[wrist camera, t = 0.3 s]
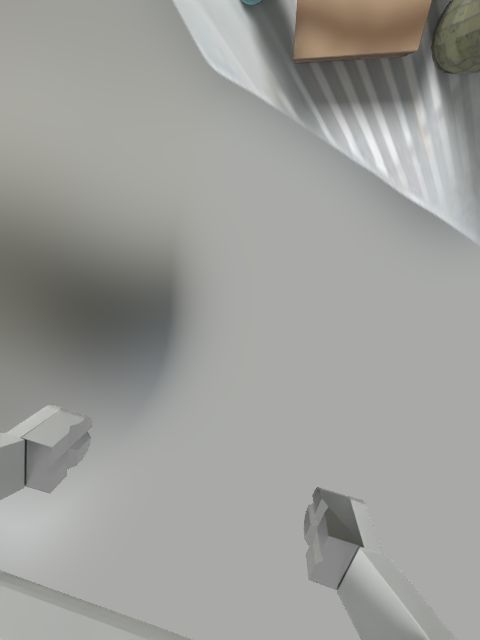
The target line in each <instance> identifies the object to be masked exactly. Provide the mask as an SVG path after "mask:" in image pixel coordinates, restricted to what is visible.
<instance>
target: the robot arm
mask: <svg viewBox="0 0 480 640" xmlns="http://www.w3.org/2000/svg"><path fill="white" fill-rule="evenodd" d="M91 427H92V419H91V418H90V417H88V416H85V415H82V414H79V413H76V412H73V411H70V410H67V409H63V408H60V407H57V406H54V405H49V406H46V407H44V408H43V409H41V410H40V411H38V412H37V413H35V414H34V415H32V416H31V417H29V418H28V419H26V420H25V421H24V422H22V423H21V424H19V425H17V426H16V427H14V428H13V429H11V430H10V431H8V432H7V433H2V432H0V500H1V499H3V498H5V497H7V496H9V495H11V494H13V493H15V492H17V491H19V490H21V489H22V488H24V486H27V487H30V488H34V489H37V490H40V491H43V492H47V493H51V492H52V491H53V490H54V489H55V488H56V486H57V485H58V484H59V483H60V482H61V481H62V480H63V479H64V478H65V477H66V475H67V469H69V468H71V467H74V466H76V465H77V464H78V463H79V462H80V461H81V460H82V459H83V457H84V455H85V454H86V452H87V450H88V447H89V445H90V439H91V437H90V435H89V433H88V430H89V429H90V428H91ZM313 502H314V503H312V504H311V505H309V506H308V508H307V511H306V514H305V520H304V537H305V540H306V542H307V544H308V545H309V549H308V551H307V553H306V557H307V567H308V578H309V580H311V581H314V582H316V583H319V584H322V585H325V586H327V587H330V588H333V589H335V590H338V591H337V593H338V595H339V597H340V599H341V601H342V603H343V605H344V607H345V609H346V611H347V613H348V615H349V617H350V619H351V621H352V622H353V624H354V626H355V628H356V630H357V632H358V634H359V636H360V638H361V640H457V639H456V637H455V636H454V635H453V634H452V632H451V631H450V630H449V629H448V628H447V626H446V625H445V624H444V623H443V622H442V620H441V619H440V618H439V617H438V615H437V614H436V613H435V612H434V611H433V609H432V608H431V607H430V606H429V605H428V603H427V602H426V601H425V600H424V599H423V597H422V596H421V595H420V594H419V592H418V591H417V590H416V589H415V588H414V586H413V585H412V584H411V583H410V582H409V581H408V579H407V578H406V577H405V575H404V574H403V573H402V572H401V571H400V569H399V568H398V567H397V566H396V565H395V563H394V562H393V561H392V560H391V558H390V557H389V556H387V555H384V554H383V551H382V549H381V546H380V543H379V540H378V538H377V535H376V532H375V529H374V526H373V524H372V521H371V518H370V515H369V512H368V510H367V507H366V504H365V502H364V501H363V500H360V499H357V498H353V497H349V496H345V495H343V494H339V493H336V492H332V491H329V490H326V489H322V488H319V487H317V488H316V489H315V491H314V493H313ZM0 640H192V639H190V638H187V637H184V636H181V635H179V634H176V633H173V632H170V631H168V630H164V629H162V628H159V627H157V626H154V625H151V624H148V623H145V622H143V621H140V620H137V619H134V618H132V617H128V616H126V615H123V614H120V613H118V612H115V611H112V610H109V609H106V608H104V607H101V606H98V605H95V604H93V603H90V602H87V601H84V600H81V599H78V598H76V597H73V596H70V595H67V594H65V593H62V592H59V591H56V590H53V589H51V588H48V587H45V586H42V585H40V584H37V583H34V582H31V581H29V580H25V579H23V578H20V577H17V576H14V575H12V574H9V573H6V572H4V571H1V570H0Z"/></svg>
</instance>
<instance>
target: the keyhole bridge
mask: <svg viewBox="0 0 480 640" xmlns="http://www.w3.org/2000/svg"><path fill="white" fill-rule="evenodd" d="M431 2H432V0H297V12H296V27H295V41H294V55H293V59H294V61H295V63H310V62H326V61H342V60H358V59H374V58H389V57H403V56H406V55H408V54H410V53H413V52H415V51H418V48H419V44H420V41H421V37H422V34H423V30H424V27H425V23H426V20H427V16H428V12H429V9H430V5H431Z"/></svg>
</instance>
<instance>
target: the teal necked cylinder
mask: <svg viewBox="0 0 480 640" xmlns="http://www.w3.org/2000/svg"><path fill="white" fill-rule="evenodd" d="M261 1H263V0H242V2H244V3H245V4H247V5H256V4H258V3H260V2H261Z"/></svg>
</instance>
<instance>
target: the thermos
mask: <svg viewBox="0 0 480 640" xmlns="http://www.w3.org/2000/svg"><path fill="white" fill-rule="evenodd" d="M431 49H432V56H433V60H434V62H435V64H436V65H437V67H438V68H439V69H440V70H442V71H444V72H445V73H455V74H468V73H475V72H479V71H480V0H452V1H451V2H450V3H449V4H448V5H447V7H446V8H445V10H444V12H443V13H442V15H441V17H440V18H439V20H438V23H437V26H436V28H435V31H434V34H433V40H432V47H431Z"/></svg>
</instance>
